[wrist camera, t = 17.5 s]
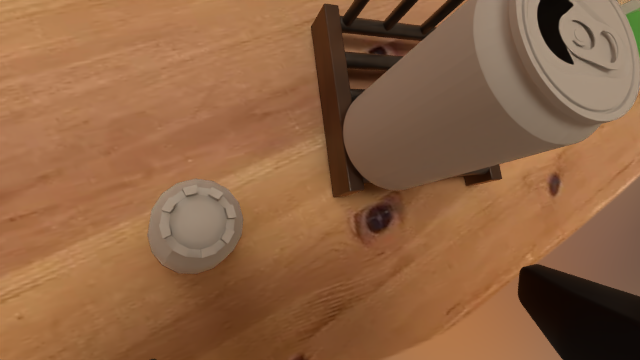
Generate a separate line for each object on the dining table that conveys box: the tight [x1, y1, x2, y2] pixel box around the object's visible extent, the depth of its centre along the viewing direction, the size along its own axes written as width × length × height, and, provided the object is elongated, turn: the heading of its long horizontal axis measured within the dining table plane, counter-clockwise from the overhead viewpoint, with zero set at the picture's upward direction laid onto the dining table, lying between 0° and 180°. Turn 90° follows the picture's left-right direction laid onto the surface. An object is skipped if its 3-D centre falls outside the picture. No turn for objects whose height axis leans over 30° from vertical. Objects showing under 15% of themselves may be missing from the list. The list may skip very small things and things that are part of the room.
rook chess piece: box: [148, 179, 243, 274], centre depth 16 cm, size 4×4×8 cm
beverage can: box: [343, 0, 640, 190], centre depth 16 cm, size 6×6×12 cm
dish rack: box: [311, 0, 502, 197], centre depth 23 cm, size 12×12×7 cm
